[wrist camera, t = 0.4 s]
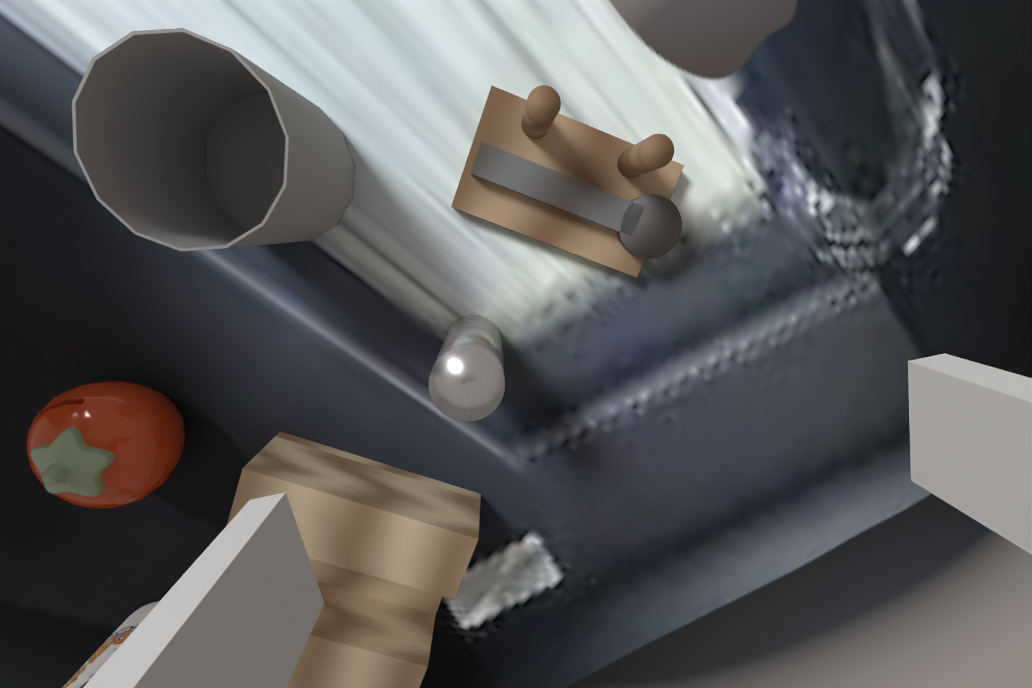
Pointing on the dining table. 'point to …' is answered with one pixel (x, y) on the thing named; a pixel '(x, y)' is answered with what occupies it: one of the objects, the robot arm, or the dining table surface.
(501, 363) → the pin
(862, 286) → the dining table surface
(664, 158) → the peg rack
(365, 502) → the slot block
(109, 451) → the tomato
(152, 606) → the bath foam
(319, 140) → the cup
